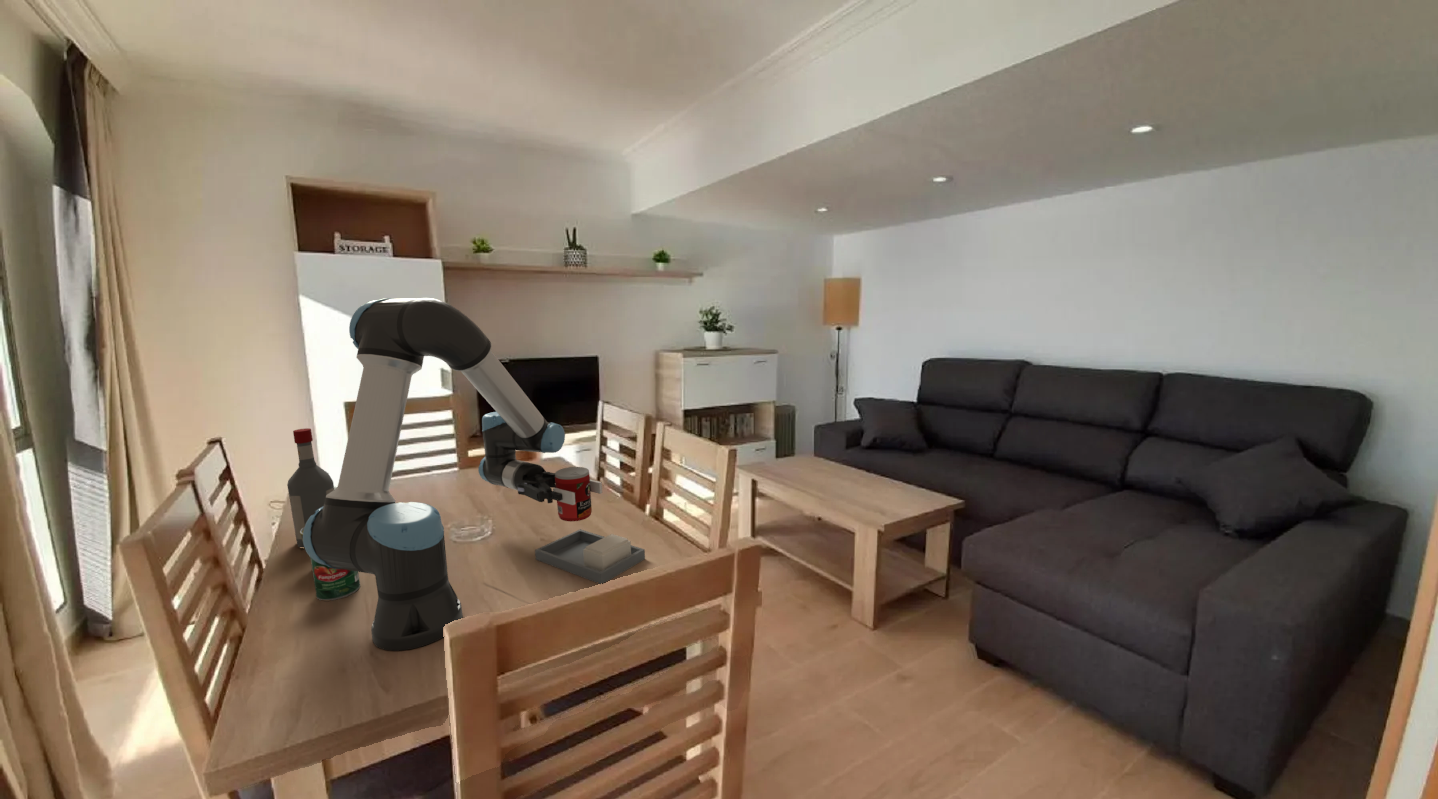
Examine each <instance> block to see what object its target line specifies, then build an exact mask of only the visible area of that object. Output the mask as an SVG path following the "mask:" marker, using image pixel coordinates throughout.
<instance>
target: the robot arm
mask: <svg viewBox="0 0 1438 799" xmlns="http://www.w3.org/2000/svg"><path fill="white" fill-rule="evenodd" d="M349 337H350V339H351V340H352V344H353V345H354V347H355V348H356V349H357V354H356V359H357V360H358V362H359V363H360V364H361V365H362V367H363V369H362V372H361V378H360V381H359V386H358V387H359V388H358V390H357V396H356V401H355V406H354V411H353V414H352V415H353V416H352V419H351V424H350V428H349V433H348V437H347V443H346V448H345V451H344V455H343V456H344V457H343V461H342V465H341V470H340V474H339V479H338V483H337V487H336V488H334V490H333V491H332V492H330V493H329V494H327V495H326V498H325V503H324V506H323V507H321V508H319V509H318V510H316V511H315V514H314V515H311V516H310V517H309V519H308V521H307V522H306V525H305V527H304V531H303V544H304V548H305V549H304V551H305V552H306V554H307V555H308V556H310V557H311V558H312V559H313V560H314V561H316V562H318V563H320V564H323V565H326V566H328V567H331V568H334V569H346V570H352V571H357V572H358V573H363V574H369V575H374V576H375V582H376V590H377V597H378V599H377V604H376V608H375V613H374V619H373V621H372V624H371V627H370V628H371V638H372V642H373V644H374V646H375V647H377V648H379V649H381V650H384V651H385V650H386V651H406V650H407V651H408V650H412V649H416V648H420V647H421V648H422V647H424V646H426V645H430V644H432V643H434V642H437V641H439V640H441V639H442V638H444V637H443V627H444V626H445V624H448V623H450V622H452V621H454V620H458V619H461V618H462V619H463V606H462V603H461V601H460V599H459V598H458V596H457V594H456V592H455V590H454V588H453V586H452V584H451V583H450V581H449V580H450V579H449V573H448V565H447V564H448V563H447V550H446V541H445V530H444V529H445V528H444V525H443V522H442V517H441V513H440V512H439V510H438V509H437V508H436V507H435V506H433V505H431V504H428V503H425V502H419V501H408V502H403V501H402V502H401V501H400V502H396V501H397V500H396V498H394V496H393V495H392V494H391V492H390V486H391V483H392V482H391V481H392V476H393V473H394V472H393V471H394V467H395V463H396V462H395V461H396V456H397V451H398V446H399V443H400V442H399V441H400V436H401V432H402V427H403V426H402V425H403V421H404V416H405V412H406V406H407V401H408V395H409V392H410V386H411V382H412V376H413V375H415V374H416V373H418V372H419V371H421V370H422V368H423V364H424V358H425V357H434V358H437V359H439V360H440V361H443V362H445V364H447V366H448V367H449V368H450V369H452V370H453V371H455V372H460V373H461V374H462V375H463V376H464V377H465V378H466V379H467V380H468V382H470V384H471V385H472V386H473V387H474V388H475V390H476V391H477V392H478V393H479V394H480V395H481V396H482V398H484V399H485V400H486V402H487V403H488V404H489V405H490V406H491V407H492V408H493V410H494V411H493V412H489V413H485V414H484V415H483V416H482V418H481V426H482V427H481V428H482V430H481V432H482V439H483V448H484V457H483V458H482V459H481V460H480V463H479V466H478V475H479V476H480V478H481V479H482V480H483V481H484V482H488V483H490V484H491V485H494V486H501V487H505V488H508V489H511V490H515V491H517V494H518V495H522V496H526V497H528V498H530V499H532V500H535V501H537V502H539V503H543V502H545V500H546V501H547V504H552V503H554V501H556V502H557V501H560V502H564V503H567V504H571V505H575V493H574V492H570V491H566V490H562V489H559V488H556V483H555V472H551V471H546V470H545V468H544V467H543V466H542V465H540V464H537V463H533V462H528V461H525V460H520V459H517V456H516V455H517V454H516V452H517V451H521V452H531V453H541V454H546V453H547V454H549V453H550V454H551V453H552V454H554V453H558V452H559V451H560V450H561V449H562V448H563V446H564V444H565V440H566V433H565V429H564V427H563V426H562V425H561V424H558V423H555V422H548V421H547V420H546V419H545V417H544V416H543V415H542V414H541V412H540V411H539V410H538V408H537V407H536V406H535V405H534V403H533V402H532V401H531V400H530V398H529V396H527V394H526V392H524V391H523V389H522V387H520V385H519V384H518V383H517V382H516V380H515V379H514V378H513V377H512V375H511V374H510V372H508V370H507V369H506V367H505V366H504V365H503V364H502V363H501V361H500V360H499V358H498V357H497V356H496V355H495V354H494V352H493V351H492V342H491V340H490V339H489V338H488V336H487V335H486V334H485V333H484V332H483V330H482V329H481V328H480V327H479V326H478V325H477V324H476V323H475V322H474V321H473V320H471V319H470V318H469V317H468V316H467V315H465V313H463V312H462V311H461V310H460V309H458V308H457V307H455V306H453V305H452V304H450V303H447V302H446V301H444V300H441V299H438V298H430V297H421V298H391V297H389V298H388V297H387V298H385V297H384V298H381V299H376V300H375V299H374V300H370V301H368V302H366V303H364V304H362V305H360V306H359V307H358V308H357V309H356V310H355V311H354V313H353V314H352V316H351V319H350V322H349ZM590 491H591V493H595V494H598V495H601V494H603V483H602V482H601V481H599V480H594V479H590ZM310 557H309V558H310Z"/></svg>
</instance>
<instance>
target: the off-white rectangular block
mask: <svg viewBox="0 0 1438 799" xmlns="http://www.w3.org/2000/svg"><path fill="white" fill-rule="evenodd" d="M631 543H632V542H631V540H629V539H628V538H627V537H623V536H620V535H617V534H614V533H611V534H609V535H606V536H604V538H602V539H600V540H598V541H596V542H594V543H592V544H590V545H588V546H586V548H585V549H583V553H584V566H587V567H590V568H593V569H595V570H598V571H603V570H605V569H607V568H608V567H610V566H612V565H614V564H615V563H617V562H619V561H621V560H623V559H624V558H626V557H628V556H630V555H631V545H632V544H631Z"/></svg>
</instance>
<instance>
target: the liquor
mask: <svg viewBox="0 0 1438 799" xmlns="http://www.w3.org/2000/svg"><path fill="white" fill-rule="evenodd" d="M292 434H293V439H294V444H296V449H297V454H298V467H297V469H295V472H294V473H293V474H292V475H291V476H290V478H289V479H288V480H287V484H286V485H287V492H288V498H289V505H290V510H291V515H292V523H293V528H294V534H295V539H296V540H295V541H296V544H297V547H298V548H299V547H304V544H303V540H302V538H301V534H300V531H301V529H303V528H304V527H305V525H306V522H307V521H308V519H309V517H310V516H311V515H314V514H315V511H316V510H318V509H319V508H321V507H323V506H324V503H325V498H326V495H327V494H329V493H330V492H332V491H333V490H335V485H334V480H333V479H332V477H331V476H330V473H329V472H327V471H326V470H325V469H323V468H322V467H320V466H319V465H318V464H317V462H316V460H315V456H314V450H313V444H312V442H313V440H314V438H313V432H312V429H311V428H307V427H306V428H299V429H295V430H293V431H292Z"/></svg>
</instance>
